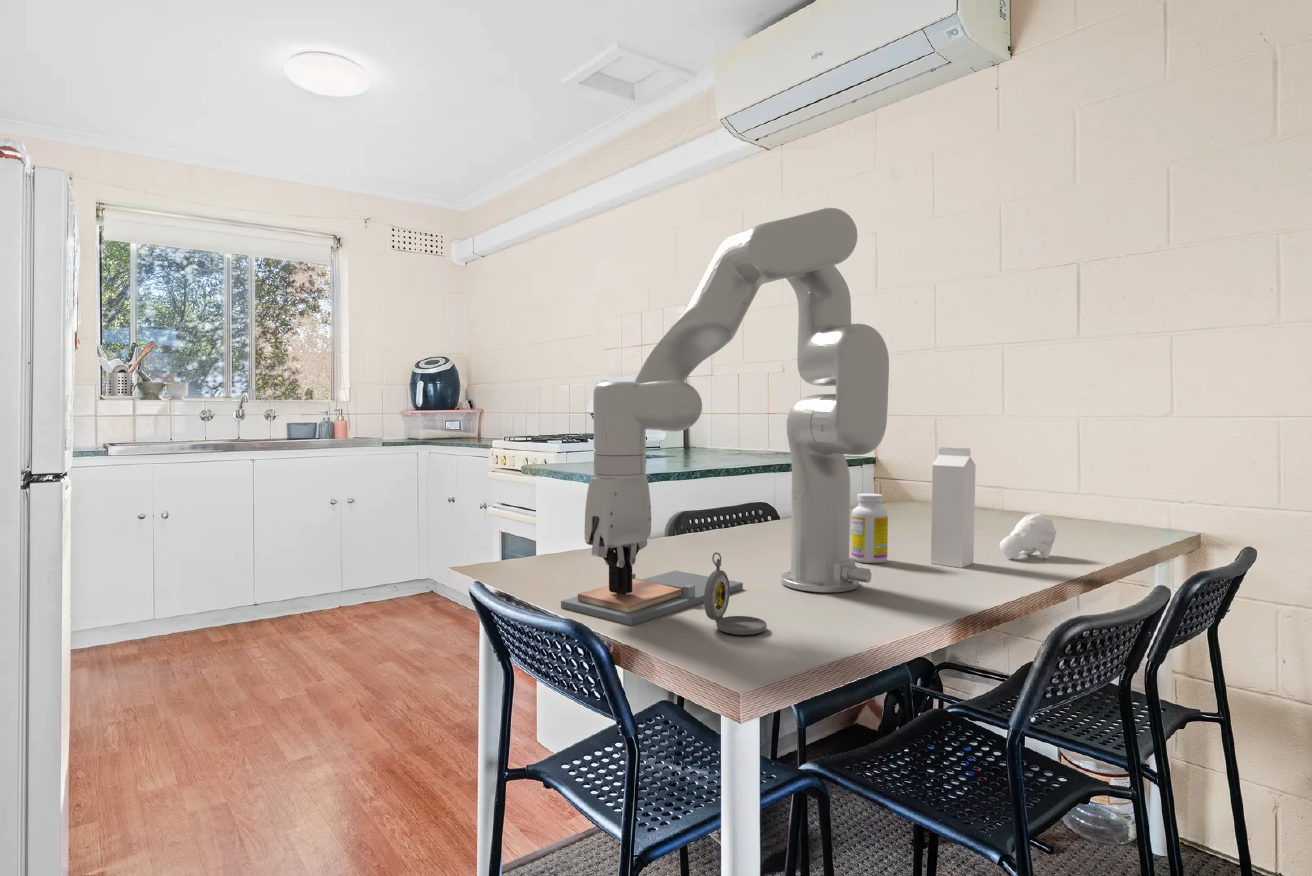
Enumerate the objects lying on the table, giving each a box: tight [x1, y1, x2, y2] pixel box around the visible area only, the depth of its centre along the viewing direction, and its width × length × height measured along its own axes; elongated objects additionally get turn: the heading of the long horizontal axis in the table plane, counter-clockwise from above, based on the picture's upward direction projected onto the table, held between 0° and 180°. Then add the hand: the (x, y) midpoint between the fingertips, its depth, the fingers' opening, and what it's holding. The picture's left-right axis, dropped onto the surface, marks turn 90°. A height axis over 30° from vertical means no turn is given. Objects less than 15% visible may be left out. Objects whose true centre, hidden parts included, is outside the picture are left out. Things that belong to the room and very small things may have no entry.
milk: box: [930, 446, 977, 569], centre depth 142 cm, size 6×6×22 cm
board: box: [560, 570, 744, 627], centre depth 116 cm, size 14×27×3 cm, turn 140°
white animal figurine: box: [999, 513, 1058, 561], centre depth 148 cm, size 6×8×12 cm
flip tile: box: [577, 577, 683, 613], centre depth 112 cm, size 10×13×1 cm
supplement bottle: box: [851, 492, 889, 564], centre depth 145 cm, size 7×7×13 cm
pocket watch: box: [703, 552, 768, 636], centre depth 100 cm, size 8×8×10 cm
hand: (620, 591), depth 110 cm, fingers closed
